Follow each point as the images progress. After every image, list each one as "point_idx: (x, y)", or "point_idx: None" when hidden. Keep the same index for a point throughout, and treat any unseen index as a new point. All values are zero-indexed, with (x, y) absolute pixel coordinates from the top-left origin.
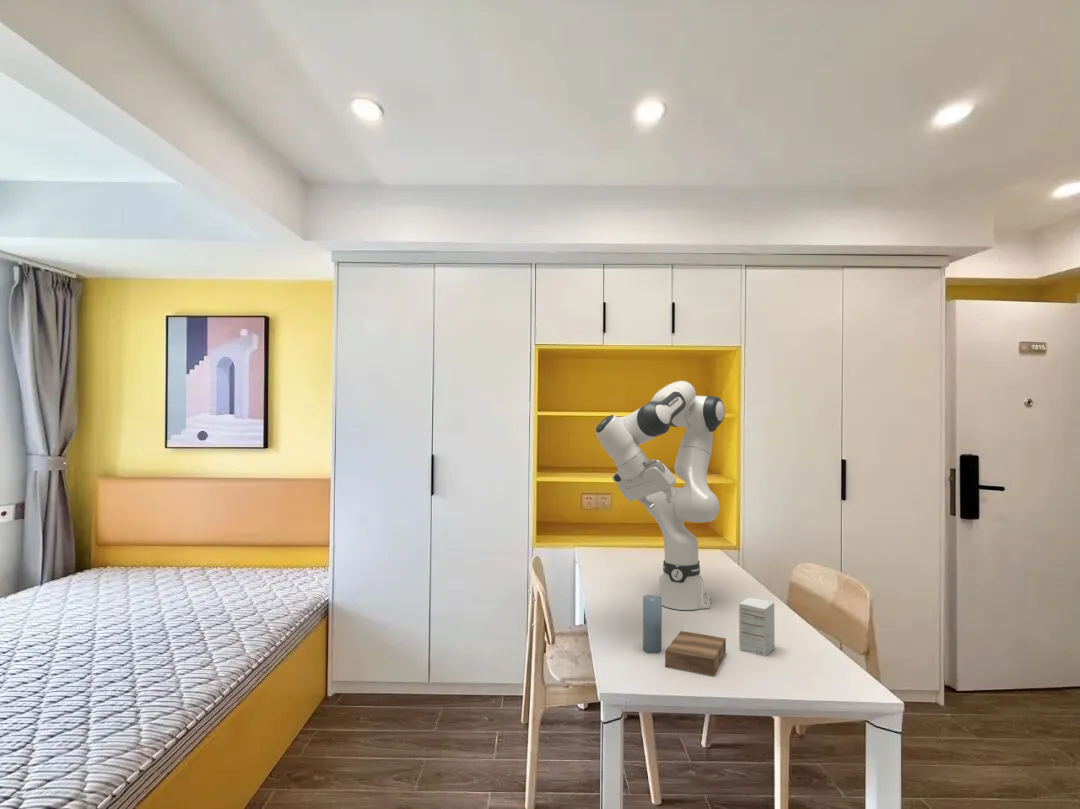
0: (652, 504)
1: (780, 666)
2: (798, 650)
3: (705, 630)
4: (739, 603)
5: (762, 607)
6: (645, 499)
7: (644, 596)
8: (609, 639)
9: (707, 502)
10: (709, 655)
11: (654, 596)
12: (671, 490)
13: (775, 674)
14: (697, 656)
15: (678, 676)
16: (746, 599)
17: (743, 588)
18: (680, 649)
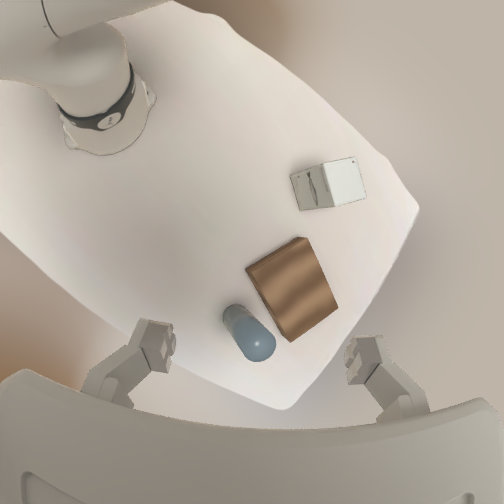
0: (165, 337)
1: (350, 215)
2: (335, 152)
3: (221, 185)
4: (335, 205)
5: (362, 194)
6: (120, 373)
7: (245, 353)
8: None
9: None
10: (329, 304)
11: (255, 337)
12: (415, 383)
13: (358, 239)
14: (323, 318)
15: (307, 337)
16: (328, 176)
17: None
18: (299, 323)
